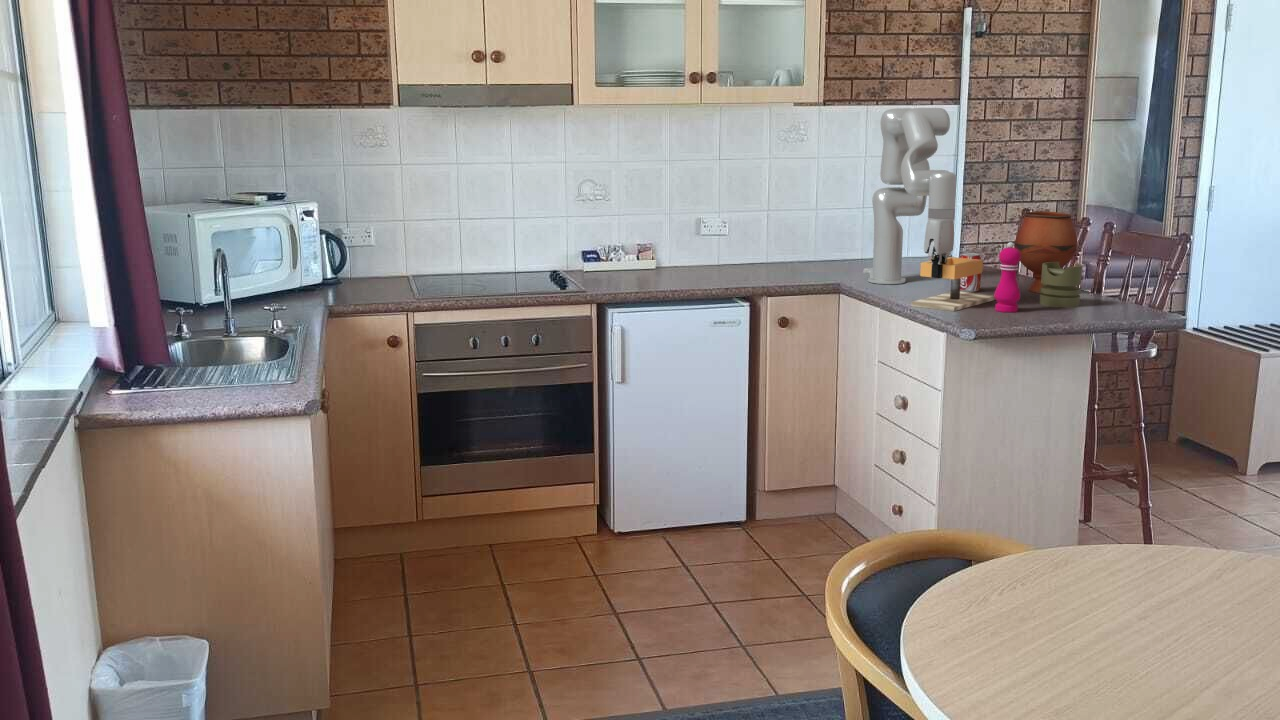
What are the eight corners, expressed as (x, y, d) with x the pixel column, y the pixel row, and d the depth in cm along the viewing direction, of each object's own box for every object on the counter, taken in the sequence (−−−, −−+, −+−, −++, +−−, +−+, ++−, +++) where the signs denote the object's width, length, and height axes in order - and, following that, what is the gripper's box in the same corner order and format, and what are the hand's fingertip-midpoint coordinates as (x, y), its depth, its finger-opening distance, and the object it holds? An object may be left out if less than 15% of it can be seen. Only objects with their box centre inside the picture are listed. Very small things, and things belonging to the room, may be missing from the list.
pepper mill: (989, 308, 348) (993, 240, 343) (1013, 308, 348) (1017, 240, 344) (999, 313, 341) (1003, 243, 336) (1023, 312, 341) (1028, 243, 337)
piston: (1074, 268, 345) (1036, 264, 352) (1071, 308, 347) (1033, 304, 354) (1087, 264, 353) (1050, 261, 360) (1084, 303, 356) (1047, 299, 363)
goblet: (1031, 297, 368) (1037, 216, 362) (999, 287, 386) (1004, 211, 381) (1086, 294, 372) (1092, 215, 366) (1052, 285, 390) (1057, 209, 385)
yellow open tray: (949, 270, 364) (949, 257, 364) (982, 273, 357) (983, 259, 356) (920, 276, 351) (920, 262, 350) (954, 279, 344) (955, 265, 343)
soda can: (980, 293, 376) (983, 255, 373) (957, 292, 377) (959, 255, 374) (979, 289, 382) (981, 252, 380) (956, 289, 384) (958, 252, 381)
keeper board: (953, 311, 344) (955, 286, 342) (910, 305, 353) (911, 282, 351) (997, 299, 364) (998, 276, 362) (955, 294, 373) (956, 271, 372)
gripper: (942, 212, 352) (939, 273, 356) (916, 215, 341) (913, 279, 345) (965, 213, 348) (962, 275, 351) (940, 217, 336) (937, 281, 340)
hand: (938, 277), depth 348 cm, fingers closed on yellow open tray, 1 cm apart
